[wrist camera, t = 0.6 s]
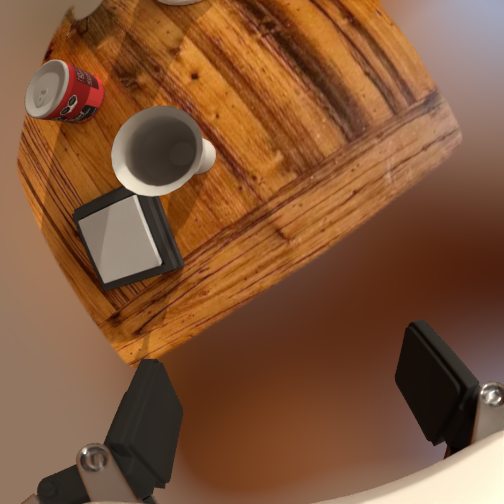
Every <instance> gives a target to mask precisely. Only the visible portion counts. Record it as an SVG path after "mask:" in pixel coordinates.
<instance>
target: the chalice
mask: <svg viewBox="0 0 504 504" xmlns="http://www.w3.org/2000/svg"><path fill="white" fill-rule="evenodd" d="M111 156H112V167H113V169H114V172H115V174H116V176H117V178H118V180H119V181H120V182H121V183H122V184H123V185H124V186H125V187H126V188H127V189H129V190H131V191H133V192H134V193H136V194H138V195H145V196H158V195H165V194H168V193H170V192H172V191H174V190H176V189H178V188H180V187H181V186H182V185H183V184H184V183H185V182H187V181H188V180H189V179H190V178H191V177H192V176H193V175H194V174H202V173H204V172H206V171H208V170H209V169H210V168H211V167H212V166H213V164H214V162H215V158H216V154H215V149H214V147H213V145H212V144H211V143H210V142H209V141H207V140H205V139H203V137H202V134H201V132H200V130H199V127H198V125H197V123H196V122H195V121H194V120H193V119H192V118H191V117H190V116H189V115H188V114H187V113H186V112H184V111H182V110H180V109H177V108H175V107H171V106H155V107H151V108H146V109H144V110H142V111H140V112H138V113H136V114H135V115H133V116H131V117H130V118H129V119H128V120H127V121H126V122H125V123H124V124H123V125H122V127H121V128H120V130H119V132H118V134H117V135H116V137H115V139H114V143H113V147H112V152H111Z"/></svg>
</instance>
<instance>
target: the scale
mask: <svg viewBox="0 0 504 504" xmlns="http://www.w3.org/2000/svg"><path fill="white" fill-rule="evenodd" d="M133 195H136V193H134V192H133V191H131V190H129V189H127V188H126V187H125V186H124V185H123V186H121V187H119V188H117V189H115V190H113V191H111V192H109V193H106V194H104V195H102V196H100V197H98V198H96V199H94V200H92V201H91V202H89V203H87V204H85V205H83V206H81V207H79V208H77V209H75V210H74V212H75V213H73V214H72V216H73V219H74V221H75V224H76V227H77V229H78V232H79V235H80V237H81V240H82V242H83V245H84V247H85V250H86V252H87V254H88V257H89V259H90V261H91V264H92V266H93V268H94V270H95V272H96V275H97V277H98V279H99V281H100V283H101V285H102V287H103V289H104V291H107V290H108V291H109V290H112V289H115V288H118V287H121V286H125V285H128V284H131V283H134V282H137V281H141V280H144V279H147V278H150V277H153V276H157V275H160V274H163V273H166V272H170V271H173V270H176V269H179V268H182V267H183V266H184V261H183V259H182V256H181V254H180V251H179V249H178V246H177V244H176V241H175V239H174V236H173V233H172V231H171V228H170V225H169V223H168V220H167V217H166V215H165V212H164V209H163V206H162V204H161V201H160V198H159V195H158V196H145V195H138V194H137V195H138V198H139V201H140V204H141V206H142V209H143V212H144V215H145V217H146V220H147V223H148V225H149V228H150V230H151V233H152V235H153V238H154V241H155V243H156V245H157V248H158V250H159V253H160V255H161V258H162V260H163V262H162V263H161V265H160V266H156V267H153V268H150V269H147V270H144V271H141V272H138V273H135V274H132V275H129V276H126V277H123V278H120V279H117V280H114V281H111V282H108V283H104V282H103V280H102V277H101V275H100V273H99V271H98V269H97V267H96V264H95V262H94V260H93V257H92V255H91V253H90V250H89V248H88V246H87V243H86V241H85V238H84V236H83V233H82V230H81V228H80V225H79V222H78V221H80V220H82V219H84V218H86V217H88V216H90V215H92V214H94V213H96V212H98V211H100V210H102V209H104V208H107V207H109V206H111V205H113V204H115V203H117V202H120V201H122V200H124V199H126V198H129V197H131V196H133Z"/></svg>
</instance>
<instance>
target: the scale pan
mask: <svg viewBox="0 0 504 504" xmlns="http://www.w3.org/2000/svg"><path fill="white" fill-rule="evenodd" d="M78 222H79V225H80V228H81V230H82V233H83V236H84V238H85V241H86V243H87V246H88V248H89V250H90V253H91V255H92V257H93V260H94V262H95V264H96V267H97V269H98V271H99V273H100V275H101V277H102V280H103V282H104V283H108V282H111V281H114V280H117V279H120V278H123V277H126V276H129V275H132V274H135V273H138V272H141V271H144V270H147V269H150V268H153V267H156V266H160V265H161V263H162V262H163V260H162V258H161V255H160V253H159V250H158V248H157V245H156V243H155V241H154V238H153V235H152V233H151V230H150V228H149V225H148V223H147V220H146V217H145V215H144V212H143V209H142V206H141V204H140V201H139V198H138V195H137V194H136V195H133V196H131V197H129V198H126V199H124V200H122V201H120V202H117V203H115V204H113V205H111V206H109V207H107V208H104V209H102V210H100V211H98V212H96V213H94V214H92V215H90V216H88V217H86V218H84V219H82V220H80V221H78Z"/></svg>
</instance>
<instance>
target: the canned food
mask: <svg viewBox="0 0 504 504" xmlns="http://www.w3.org/2000/svg"><path fill="white" fill-rule="evenodd" d="M103 100H104V86H103V84H102V82H101V81H100V79H99V78H97V77H96V76H94V75H92V74H90V73H88V72H86V71H83V70H81V69H79V68H77V67H75V66H73V65H71V64H68V63H66V62H64V61H60V60H51V61H48V62H47V63H45V64H43V65H42V66H41V67H40V68H39V69H38V70H37V71H36V73H35V74H34V75H33V77H32V79H31V80H30V83H29V85H28V87H27V90H26V95H25V108H26V111H27V113H28V114H29V115H30V116H31V117H33V118H36V119H43V120H52V121H61V122H68V123H76V124H79V123H83V122H85V121H88V120H89V119H91V118H92V117H93V116H95V114H96V113H97V112H98V110H99V109H100V107H101V105H102V103H103Z"/></svg>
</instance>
